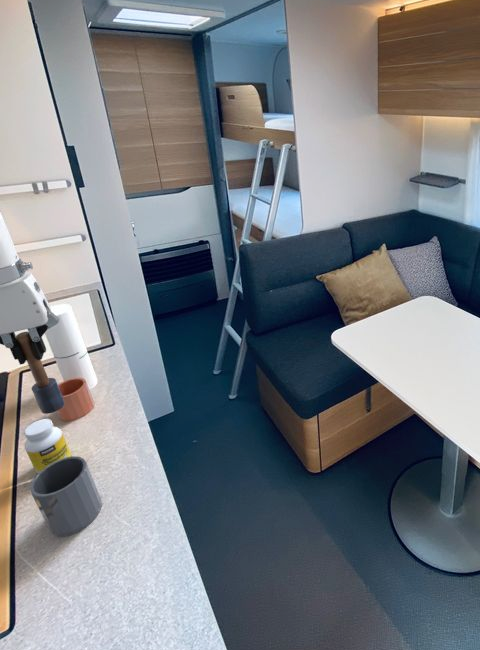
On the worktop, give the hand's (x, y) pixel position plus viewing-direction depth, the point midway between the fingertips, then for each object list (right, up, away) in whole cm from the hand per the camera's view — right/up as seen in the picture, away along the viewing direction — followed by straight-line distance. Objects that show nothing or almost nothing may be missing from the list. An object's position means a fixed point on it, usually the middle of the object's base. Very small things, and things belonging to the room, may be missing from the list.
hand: (32, 357), depth 81 cm
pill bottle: (-4, -27, +11) cm, 30 cm away
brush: (0, -12, +5) cm, 13 cm away
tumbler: (+9, -31, 0) cm, 33 cm away
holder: (-10, -21, +27) cm, 35 cm away
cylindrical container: (-15, -17, +36) cm, 43 cm away
